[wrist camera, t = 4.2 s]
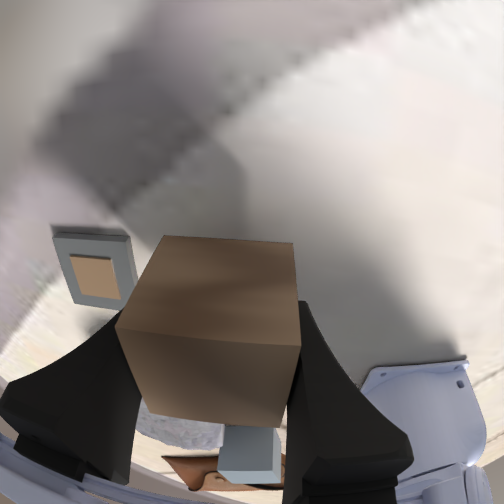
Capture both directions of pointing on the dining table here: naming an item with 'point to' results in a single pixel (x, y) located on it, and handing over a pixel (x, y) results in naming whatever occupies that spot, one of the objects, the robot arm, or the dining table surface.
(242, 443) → the blue-grey cube
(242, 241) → the walnut cube
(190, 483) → the sunglasses case
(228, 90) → the dining table surface
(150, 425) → the stone block
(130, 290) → the tile
